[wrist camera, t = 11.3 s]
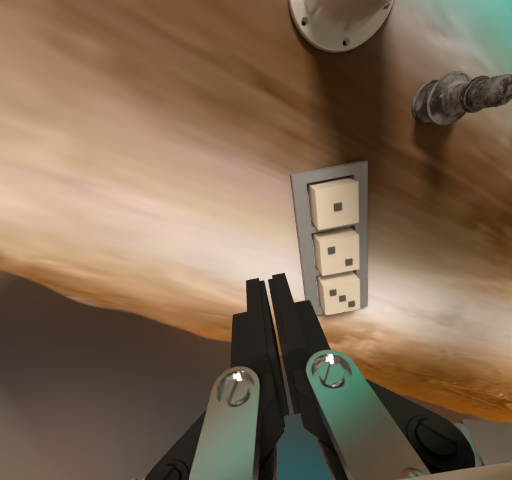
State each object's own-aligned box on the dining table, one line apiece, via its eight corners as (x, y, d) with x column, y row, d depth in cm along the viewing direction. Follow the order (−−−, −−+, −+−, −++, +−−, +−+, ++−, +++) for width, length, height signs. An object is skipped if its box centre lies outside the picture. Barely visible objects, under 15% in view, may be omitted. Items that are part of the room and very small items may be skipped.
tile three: (316, 273, 44) (323, 287, 40) (349, 267, 44) (360, 280, 40) (318, 300, 47) (326, 316, 43) (350, 295, 46) (360, 309, 43)
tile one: (307, 184, 38) (315, 190, 34) (346, 177, 38) (358, 181, 34) (311, 221, 40) (318, 230, 36) (348, 214, 40) (359, 223, 36)
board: (306, 311, 48) (308, 316, 46) (289, 174, 37) (291, 175, 36) (363, 301, 47) (367, 306, 46) (362, 160, 37) (367, 161, 36)
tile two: (312, 232, 41) (319, 242, 37) (348, 225, 41) (359, 235, 37) (315, 263, 43) (322, 276, 40) (349, 257, 43) (360, 269, 39)
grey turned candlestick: (460, 97, 34) (564, 79, 23) (427, 134, 36) (509, 135, 25) (434, 66, 33) (532, 33, 22) (400, 107, 34) (476, 95, 23)
